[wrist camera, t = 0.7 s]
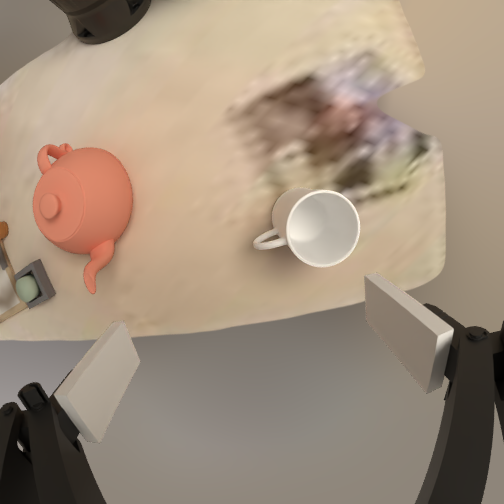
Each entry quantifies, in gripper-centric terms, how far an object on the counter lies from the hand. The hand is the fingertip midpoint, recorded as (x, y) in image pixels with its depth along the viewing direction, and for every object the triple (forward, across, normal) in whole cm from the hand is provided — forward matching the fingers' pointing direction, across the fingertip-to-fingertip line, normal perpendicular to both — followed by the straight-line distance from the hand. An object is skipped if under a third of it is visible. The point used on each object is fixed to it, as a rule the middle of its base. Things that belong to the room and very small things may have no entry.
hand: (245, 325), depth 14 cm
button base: (+27, -40, 0) cm, 48 cm away
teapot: (+27, -21, +9) cm, 36 cm away
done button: (+25, -40, 0) cm, 47 cm away
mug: (+27, +7, +1) cm, 28 cm away
